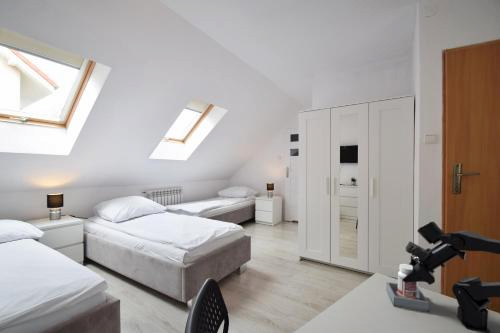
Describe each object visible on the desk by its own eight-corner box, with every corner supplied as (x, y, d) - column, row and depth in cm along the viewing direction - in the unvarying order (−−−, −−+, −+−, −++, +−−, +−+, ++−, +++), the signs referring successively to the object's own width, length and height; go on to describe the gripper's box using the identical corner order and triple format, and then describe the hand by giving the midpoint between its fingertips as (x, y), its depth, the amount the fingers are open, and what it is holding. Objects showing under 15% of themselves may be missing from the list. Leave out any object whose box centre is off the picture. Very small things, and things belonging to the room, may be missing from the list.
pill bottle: (419, 296, 92) (420, 267, 92) (411, 301, 89) (412, 271, 89) (401, 289, 98) (402, 261, 97) (394, 293, 94) (395, 265, 94)
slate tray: (417, 294, 97) (417, 286, 97) (428, 312, 87) (429, 302, 86) (386, 290, 100) (386, 281, 100) (393, 306, 90) (393, 296, 90)
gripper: (418, 230, 98) (386, 251, 104) (424, 244, 82) (386, 268, 88) (442, 253, 95) (407, 274, 101) (452, 273, 79) (411, 296, 85)
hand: (402, 277), depth 94 cm, fingers closed on pill bottle, 6 cm apart
